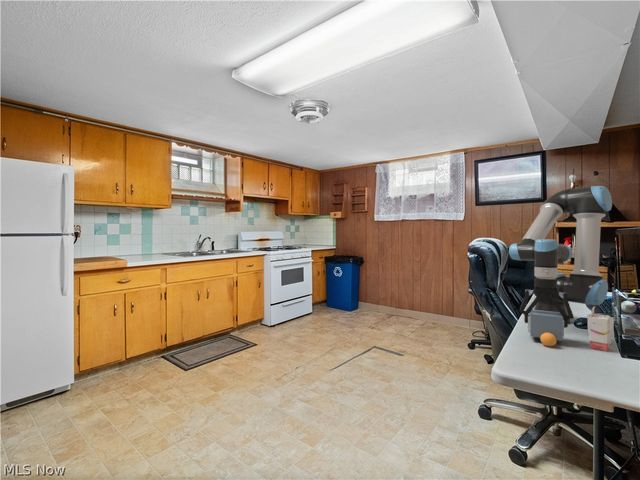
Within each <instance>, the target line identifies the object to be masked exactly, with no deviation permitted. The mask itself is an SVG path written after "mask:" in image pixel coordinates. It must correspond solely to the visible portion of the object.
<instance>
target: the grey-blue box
mask: <svg viewBox="0 0 640 480" xmlns="http://www.w3.org/2000/svg"><path fill="white" fill-rule="evenodd" d="M528 315H530V332H529V335H530V337H531V338H532V337H533V338H539V339H540V337H541V335H542V334H543V333H551V334H553V335H554V336H555V337H556V340H557V341H564V337H563V317H562V315H561V314H560V312H552V311H542V310H534V309H532V310H531V312H530V313H529V314H528Z"/></svg>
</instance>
